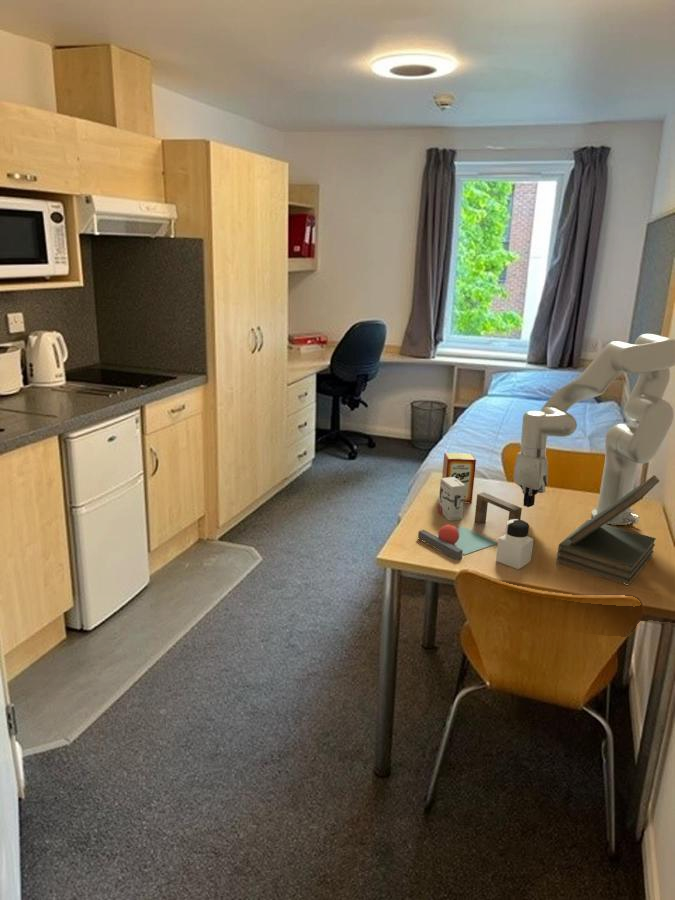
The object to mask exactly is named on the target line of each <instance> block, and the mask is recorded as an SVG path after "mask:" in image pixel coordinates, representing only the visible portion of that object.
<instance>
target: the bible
mask: <svg viewBox="0 0 675 900" xmlns="http://www.w3.org/2000/svg"><path fill="white" fill-rule="evenodd" d="M659 482H660V479H659V478H658V477H657V476H656V475H652V476H651V477H650V478H648V479H647V480H645V481H644V482H642V483H641V484H640V485H638V486H636V487H635V488H633V490H632V491H631V492H629V493H628V494H626V495H625V496H624V497H622V498H621V499H619V500H618V501H616V502H615V503H613V504H612V505H611V506H609V507H608V508H606V509H605V510H603V511H602V512H600V513H599V514H598V515H596V516H595V517H591V519H587V520H585V521H584V522H583V523H582V524H580V525H579V527H577V528H576V529H575V530H574V531H573V532H572V533H570V535H568V536H567V537H566V538H564V539H563V540H562V542H560V543H559V544H558V548H557V555H556V557H557V558H556V562H555V563H556V564H559V565H563V566H567V567H570V568H573V569H575V570H579V571H582V572H585V573H588V574H591V575H594V576H596V577H600V578H603V579H607V580H609V579H610V580H609V581H612V580H613V581H612V582H615V581H617V582H616V583H618V582H621V583H625V584H628V585H630V584H631V583H632V582H633V580H635V578H636V577H637V575H638V574H639V573H640V572H641V570H642V569H643V568H644V567H645V565H646V564H647V563H648V562H649V560H650V559H651V558H652V556H653V553H654V547H655V546H656V544H655V541H656V540H657V538H656V537H652V536H649V535H644V534H642V533H639V532H638V533H637V532H635V531H631V530H627V529H623V528H620V527H616V526H614V525H609V524H605V523H607V522H608V521H610V520H611V519H613V518H614V517H616V516H617V515H619V514H620V513H622V512H623V511H625V510H626V509H628V508H629V507H630V508H632V506H634V505H635V504H637V503H638V502H639V501H641V500H642V499H643V497H645V496H646V495H647V494H648V493H649V492H650V491H651V490H652V489H653V488H654V487H655V486H656V485H658V484H659ZM650 557H651V558H650ZM649 558H650V559H649ZM647 561H648V562H647ZM646 562H647V563H646ZM645 563H646V564H645ZM643 566H644V567H643ZM642 567H643V568H642ZM641 568H642V569H641ZM639 571H640V572H639ZM638 572H639V573H638ZM637 573H638V574H637ZM635 576H636V577H635ZM634 577H635V578H634ZM631 581H632V582H631ZM630 582H631V583H630ZM621 583H620V584H621ZM629 583H630V584H629ZM628 585H627V586H628Z"/></svg>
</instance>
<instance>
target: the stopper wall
mask: <svg viewBox="0 0 675 900" xmlns="http://www.w3.org/2000/svg"><path fill="white" fill-rule="evenodd" d="M417 535H418V536H417V539H418V538H419V539H421V540H423V541H425V542H426V543H425V542H424V543H425V544H427V543H428V544H430V545H432V546H434V547H435V548H434V547H433V548H434V549H436V548H437V549H436V550H438V549H439V550H441V551H442V552H441V551H440V552H441V553H443V552H444V553H443V554H445V553H446V554H445V555H447V554H448V555H450V556H452V557H453V559H454V558H455V559H454V560H456V559H458V560H461V559H462V558H463V554H462V552H463V550H461V549H459V548H457V547H456V546H454V545H452V544H450V543H448V542H446V541H444V540H442V539H440V538H438V537H437V536H435V535H436V534H433V533H431V532H429V531H427V530H425V529H421V530H419V531H418V534H417ZM419 539H418V540H419ZM421 540H420V541H421ZM423 541H422V542H423ZM428 544H427V545H428ZM430 545H429V546H430ZM432 546H431V547H432ZM439 550H438V551H439ZM448 555H447V556H448ZM450 556H449V557H450ZM452 557H451V558H452Z"/></svg>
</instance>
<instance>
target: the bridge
mask: <svg viewBox="0 0 675 900" xmlns="http://www.w3.org/2000/svg"><path fill="white" fill-rule="evenodd" d="M488 504H490V505H493V506H496V507H497V508H500V509H502V510H505V511H507V512H508V519H507V521H509V520H512V519H519V520H522V519H521V517H522V510H523V508H522V507H520V506H518V505H515V504H513V503H511V502H508V501H506V500H503V499H501V498H499V497H496V496H493V495H491V494H489V493H487V492H480V493H477V495H476V504H475V513H474V514H475V515H474V521H473V522H474V524H476V525H479V526H480V525H483V524H486V522H487V516H488V515H487V512H488V506H489V505H488Z"/></svg>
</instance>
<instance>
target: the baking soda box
mask: <svg viewBox="0 0 675 900" xmlns="http://www.w3.org/2000/svg"><path fill="white" fill-rule="evenodd" d="M442 464H443V465H442V477H441V478H447V477H455V478H456V479H458V480H459V481H460V482H462V483H463V484H465V493H464V502H470V503H469V504H472V503H473V496H474V495H473V494H474V483H475V472H476V465H477V459H476V457H475V456H474V455H473V454H472V453H465V452H463V453H460V452H444V455H443V463H442Z"/></svg>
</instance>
